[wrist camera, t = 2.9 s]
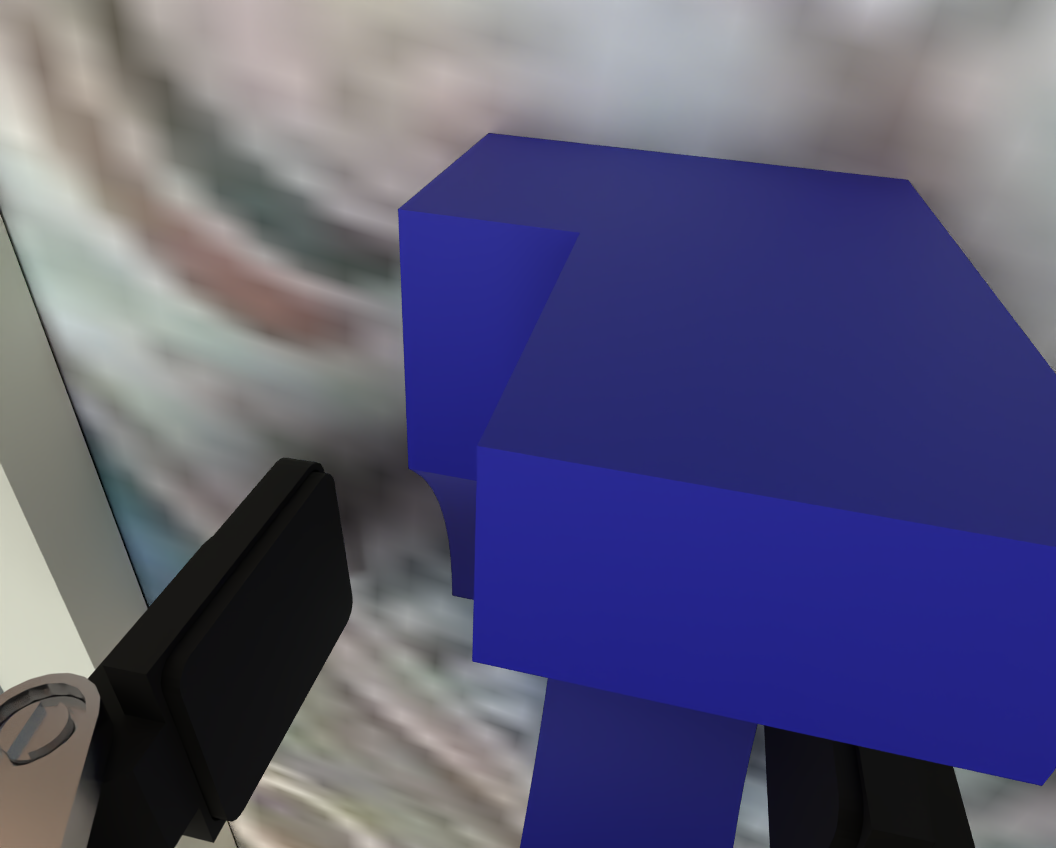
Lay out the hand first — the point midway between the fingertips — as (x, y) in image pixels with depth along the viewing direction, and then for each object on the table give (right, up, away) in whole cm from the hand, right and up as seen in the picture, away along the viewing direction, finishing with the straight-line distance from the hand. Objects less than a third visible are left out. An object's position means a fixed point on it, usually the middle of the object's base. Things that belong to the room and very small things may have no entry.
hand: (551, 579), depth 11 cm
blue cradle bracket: (+1, 0, +1) cm, 1 cm away
